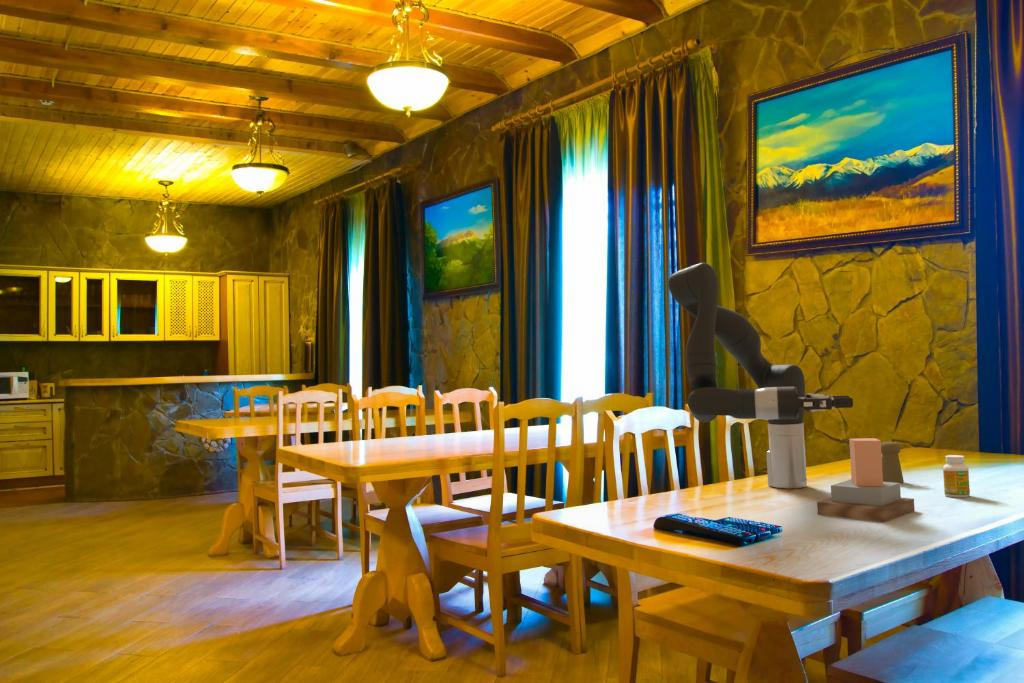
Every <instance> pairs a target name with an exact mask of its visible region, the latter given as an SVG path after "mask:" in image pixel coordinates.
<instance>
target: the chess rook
mask: <svg viewBox="0 0 1024 683" xmlns="http://www.w3.org/2000/svg"><path fill="white" fill-rule="evenodd" d="M900 453H901V445H900V444H899V443H898V442H894V441H883V442H881V455H882V474H883V482H894V483H900V485H903V484H904V483H905V480H904V476H903V470H902V467H901V461H900V457H899V456H900V455H899V454H900Z"/></svg>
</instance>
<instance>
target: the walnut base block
mask: <svg viewBox="0 0 1024 683" xmlns="http://www.w3.org/2000/svg"><path fill="white" fill-rule="evenodd" d="M816 507H817V510H816V511H817V515H819V514H820V515H821V516H829V517H838V518H846V519H855V520H863V521H871V522H878V523H879V522H880V523H886V522H889V521H891V520H894V519H898V518H900V517H903V516H905V515H908V514H912V513H913V512H915V511H916V510H915V498H912V497H911V498H910V497H901V499H898V500H896V501H893V502H891V503H888V504H885V505H883V506H878V505H867V504H856V503H846V502H835V501H832V500H831V497H828V498H825V499H823V500H819V501H817V502H816Z"/></svg>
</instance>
